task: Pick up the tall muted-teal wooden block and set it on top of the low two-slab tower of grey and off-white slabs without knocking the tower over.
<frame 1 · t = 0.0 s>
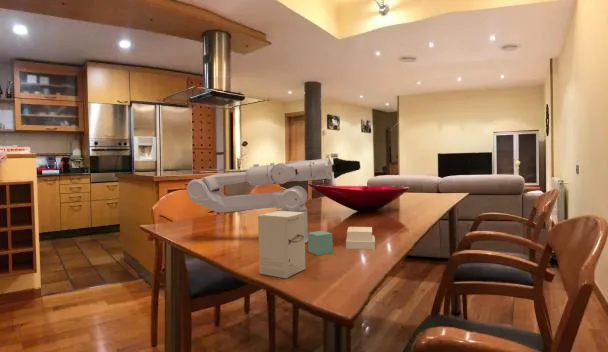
hand: (359, 165, 106), 22 cm above the table, tool horizontal, fingers open, 7 cm apart
bottom slab: (360, 247, 102), on the table, touching top slab
top slab: (359, 238, 102), point 2 cm above the table, touching bottom slab
teal block: (320, 252, 96), on the table
supplement box: (282, 272, 80), on the table
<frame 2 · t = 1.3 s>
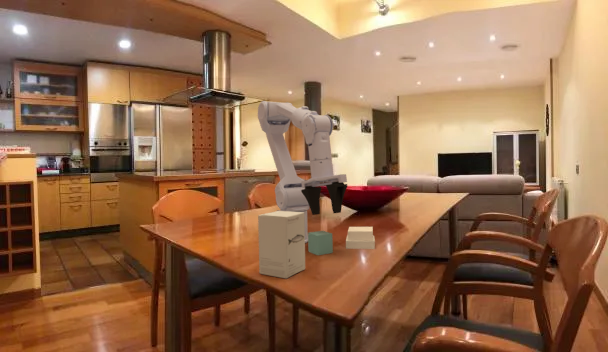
hand: (326, 213, 95), 10 cm above the table, tool pointing down, fingers open, 7 cm apart
nothing on the table moved.
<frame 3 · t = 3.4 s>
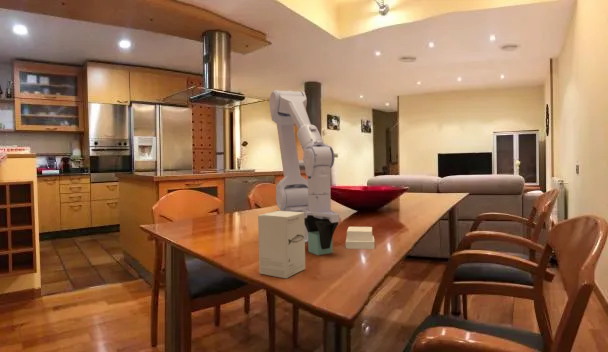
hand: (320, 246, 96), 1 cm above the table, tool pointing down, fingers closed on teal block, 4 cm apart
bottom slab: (360, 247, 102), on the table
top slab: (359, 238, 102), point 2 cm above the table
teal block: (320, 252, 96), on the table, touching gripper
everything else where it was.
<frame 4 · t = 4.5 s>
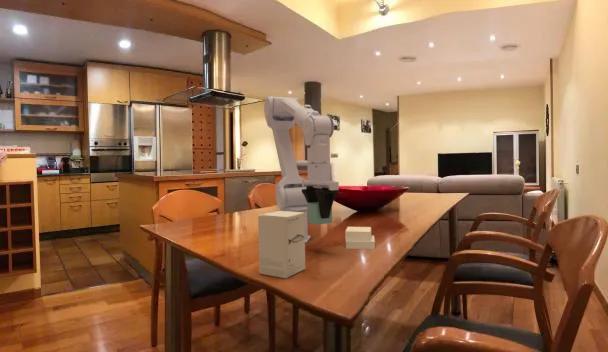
hand: (319, 216, 96), 9 cm above the table, tool pointing down, fingers closed on teal block, 4 cm apart
teal block: (319, 222, 96), point 8 cm above the table, touching gripper
everything else where it was.
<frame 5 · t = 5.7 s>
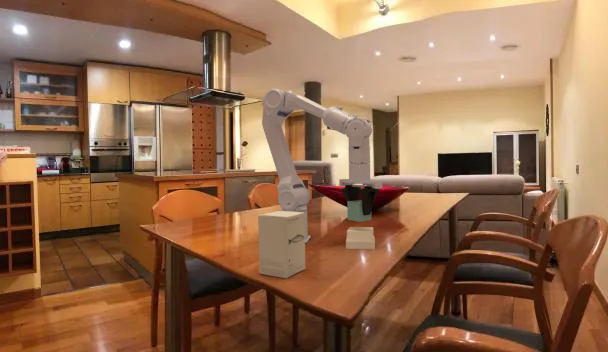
hand: (360, 213, 102), 9 cm above the table, tool pointing down, fingers closed on teal block, 4 cm apart
bottom slab: (360, 247, 102), on the table, touching top slab
top slab: (360, 238, 102), point 2 cm above the table, touching bottom slab
teal block: (359, 219, 102), point 7 cm above the table, touching gripper
everything else where it was.
when the fingers open (8 cm above the table, at t = 6.7 s): teal block drops 2 cm, resting on top slab.
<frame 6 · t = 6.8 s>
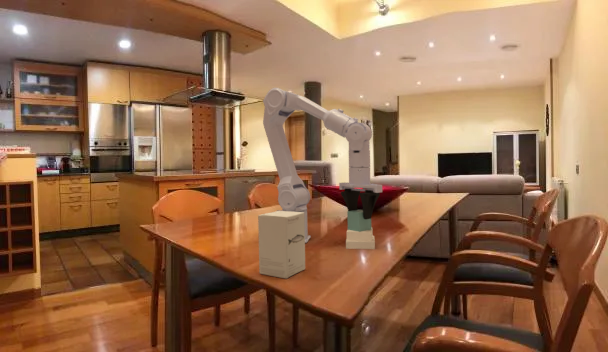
hand: (360, 217, 102), 8 cm above the table, tool pointing down, fingers open, 5 cm apart
top slab: (360, 238, 102), point 2 cm above the table, touching bottom slab, teal block
teal block: (359, 229, 102), point 4 cm above the table, touching top slab
everything else where it was.
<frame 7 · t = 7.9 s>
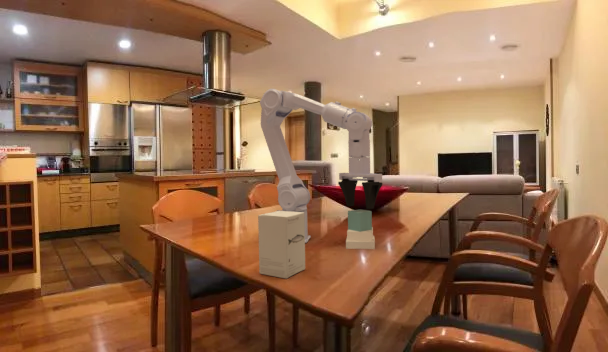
hand: (359, 207, 102), 10 cm above the table, tool pointing down, fingers open, 7 cm apart
nothing on the table moved.
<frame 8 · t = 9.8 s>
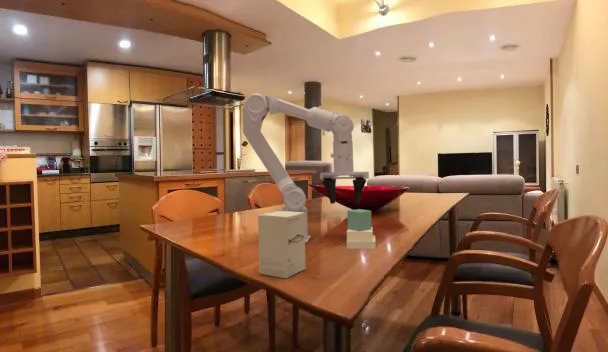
hand: (344, 203, 110), 10 cm above the table, tool pointing down, fingers open, 7 cm apart
top slab: (360, 238, 102), point 2 cm above the table, touching bottom slab
teal block: (359, 229, 102), point 4 cm above the table
everything else where it was.
at the end: teal block 0.2 cm off-centre on the top slab, point 2.5 cm above the top slab's base; top slab 0.3 cm off-centre on the bottom slab, point 2.5 cm above the bottom slab's base; teal block tilted 2° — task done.
